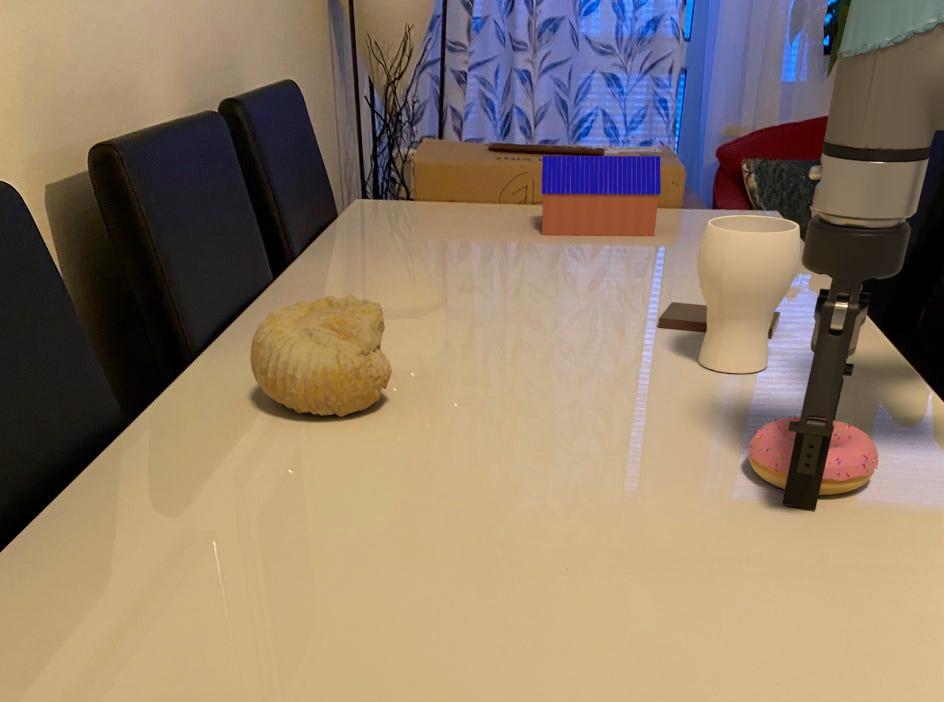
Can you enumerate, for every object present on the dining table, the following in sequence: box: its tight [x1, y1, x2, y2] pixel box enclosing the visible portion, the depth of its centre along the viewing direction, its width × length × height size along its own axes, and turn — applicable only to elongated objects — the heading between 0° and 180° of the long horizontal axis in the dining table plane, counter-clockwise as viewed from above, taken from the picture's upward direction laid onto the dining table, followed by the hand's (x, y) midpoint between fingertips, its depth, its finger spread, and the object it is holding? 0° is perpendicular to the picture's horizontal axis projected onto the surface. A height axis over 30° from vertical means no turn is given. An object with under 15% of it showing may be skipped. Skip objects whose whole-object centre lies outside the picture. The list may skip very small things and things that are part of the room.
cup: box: [696, 214, 801, 374], centre depth 109 cm, size 11×11×15 cm
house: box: [541, 155, 662, 237], centre depth 172 cm, size 12×20×12 cm, turn 86°
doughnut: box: [747, 414, 879, 496], centre depth 86 cm, size 11×11×4 cm
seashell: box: [249, 294, 393, 418], centre depth 102 cm, size 17×11×15 cm
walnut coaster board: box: [657, 301, 781, 340], centre depth 126 cm, size 14×8×1 cm, turn 69°
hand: (806, 473), depth 87 cm, fingers open, 13 cm apart
